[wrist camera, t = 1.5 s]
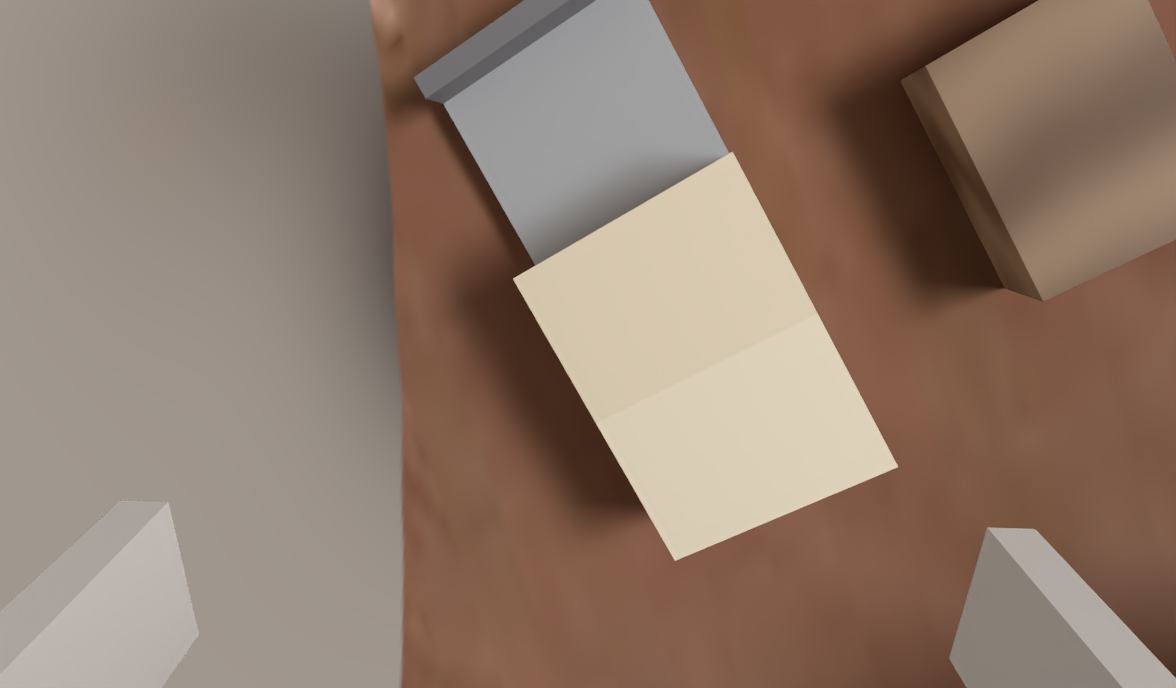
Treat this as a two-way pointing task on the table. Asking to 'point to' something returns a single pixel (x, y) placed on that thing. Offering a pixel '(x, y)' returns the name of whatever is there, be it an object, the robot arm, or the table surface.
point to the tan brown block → (1058, 138)
